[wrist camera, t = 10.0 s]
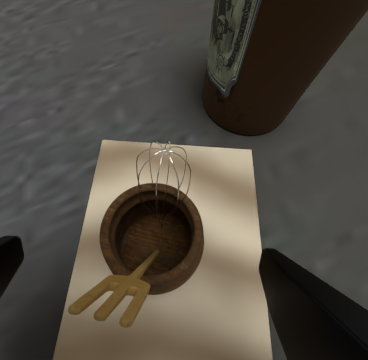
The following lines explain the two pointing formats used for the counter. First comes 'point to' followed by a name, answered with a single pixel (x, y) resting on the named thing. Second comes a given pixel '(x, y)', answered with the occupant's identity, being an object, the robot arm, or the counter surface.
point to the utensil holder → (146, 245)
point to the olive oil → (270, 56)
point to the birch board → (197, 284)
